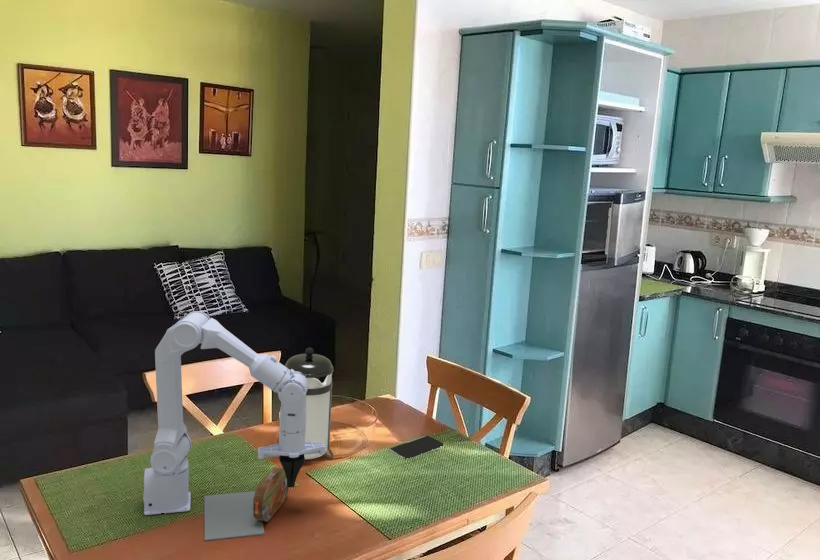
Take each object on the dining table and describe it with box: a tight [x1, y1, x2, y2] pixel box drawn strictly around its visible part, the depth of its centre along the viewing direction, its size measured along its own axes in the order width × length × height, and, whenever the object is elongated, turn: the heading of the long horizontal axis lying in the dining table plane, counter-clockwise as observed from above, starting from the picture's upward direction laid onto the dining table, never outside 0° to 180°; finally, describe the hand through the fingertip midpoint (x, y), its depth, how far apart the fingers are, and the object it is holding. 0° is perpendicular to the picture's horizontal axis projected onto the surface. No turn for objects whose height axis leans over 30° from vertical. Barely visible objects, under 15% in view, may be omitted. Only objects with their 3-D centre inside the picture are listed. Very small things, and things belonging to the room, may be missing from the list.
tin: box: [253, 467, 289, 522], centre depth 146 cm, size 15×3×8 cm, turn 168°
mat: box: [203, 490, 265, 542], centre depth 144 cm, size 12×18×1 cm, turn 17°
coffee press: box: [283, 347, 335, 461], centre depth 173 cm, size 17×16×30 cm
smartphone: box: [388, 435, 443, 459], centre depth 183 cm, size 8×1×15 cm
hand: (290, 485), depth 147 cm, fingers closed
